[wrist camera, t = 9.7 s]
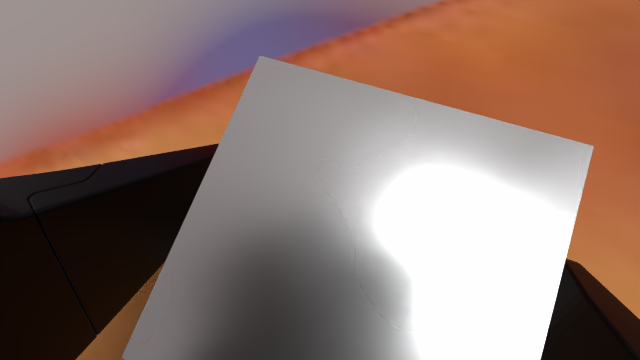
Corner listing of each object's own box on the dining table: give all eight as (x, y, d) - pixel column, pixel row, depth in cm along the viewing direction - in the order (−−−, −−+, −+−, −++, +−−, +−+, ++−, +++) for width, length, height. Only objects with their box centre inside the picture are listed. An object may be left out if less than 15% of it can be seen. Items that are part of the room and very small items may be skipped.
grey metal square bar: (391, 311, 15) (488, 570, 3) (310, 276, 16) (121, 357, 4) (418, 228, 16) (593, 146, 4) (339, 199, 17) (260, 55, 5)
